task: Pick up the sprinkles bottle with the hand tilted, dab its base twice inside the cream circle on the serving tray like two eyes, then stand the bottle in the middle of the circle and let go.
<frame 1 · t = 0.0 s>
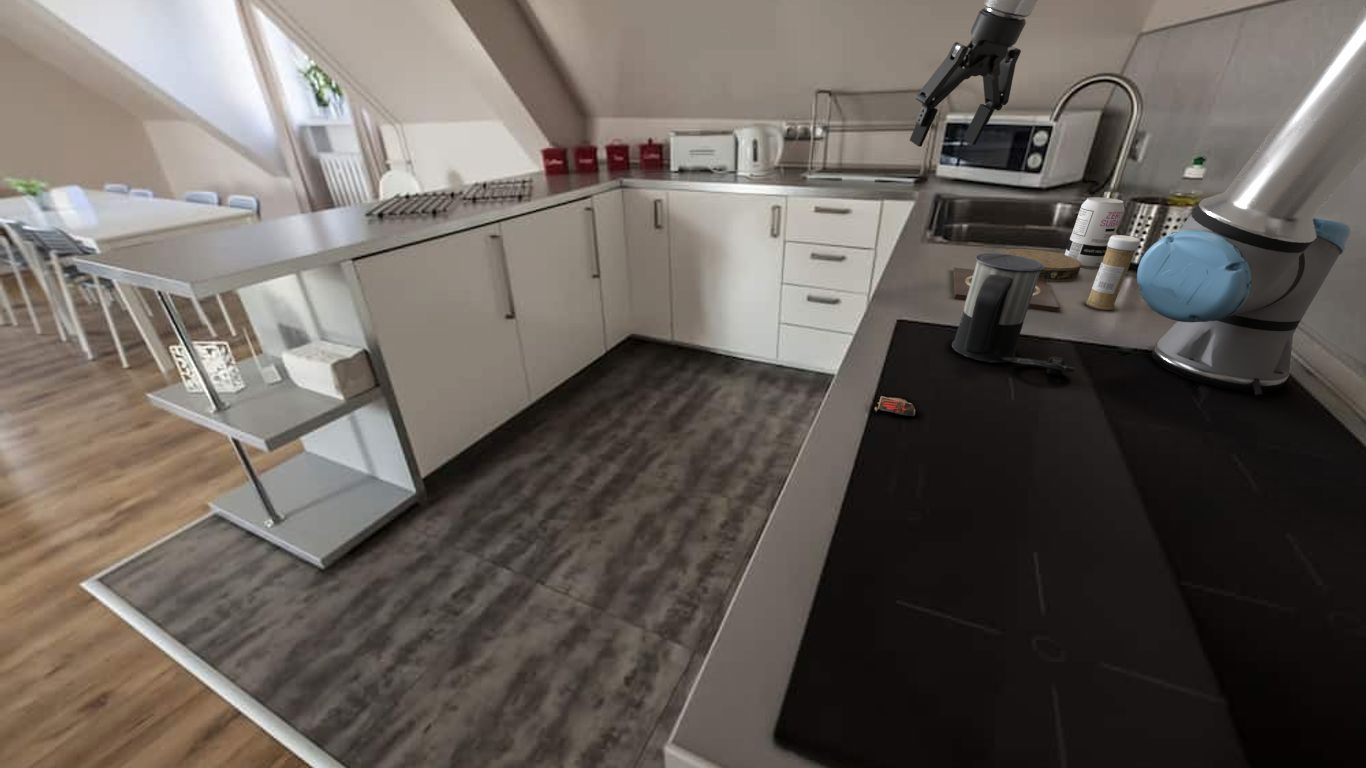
hand: (942, 142, 106), 28 cm above the worktop, tool tilted 20°, fingers open, 13 cm apart
serving tray: (1000, 290, 116), on the worktop
brown round flat disc: (1036, 271, 129), on the worktop
supplement can: (1081, 265, 134), on the worktop
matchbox: (895, 408, 73), on the worktop
milk frother: (1006, 362, 86), on the worktop
sprinkles bottle: (1098, 307, 108), on the worktop
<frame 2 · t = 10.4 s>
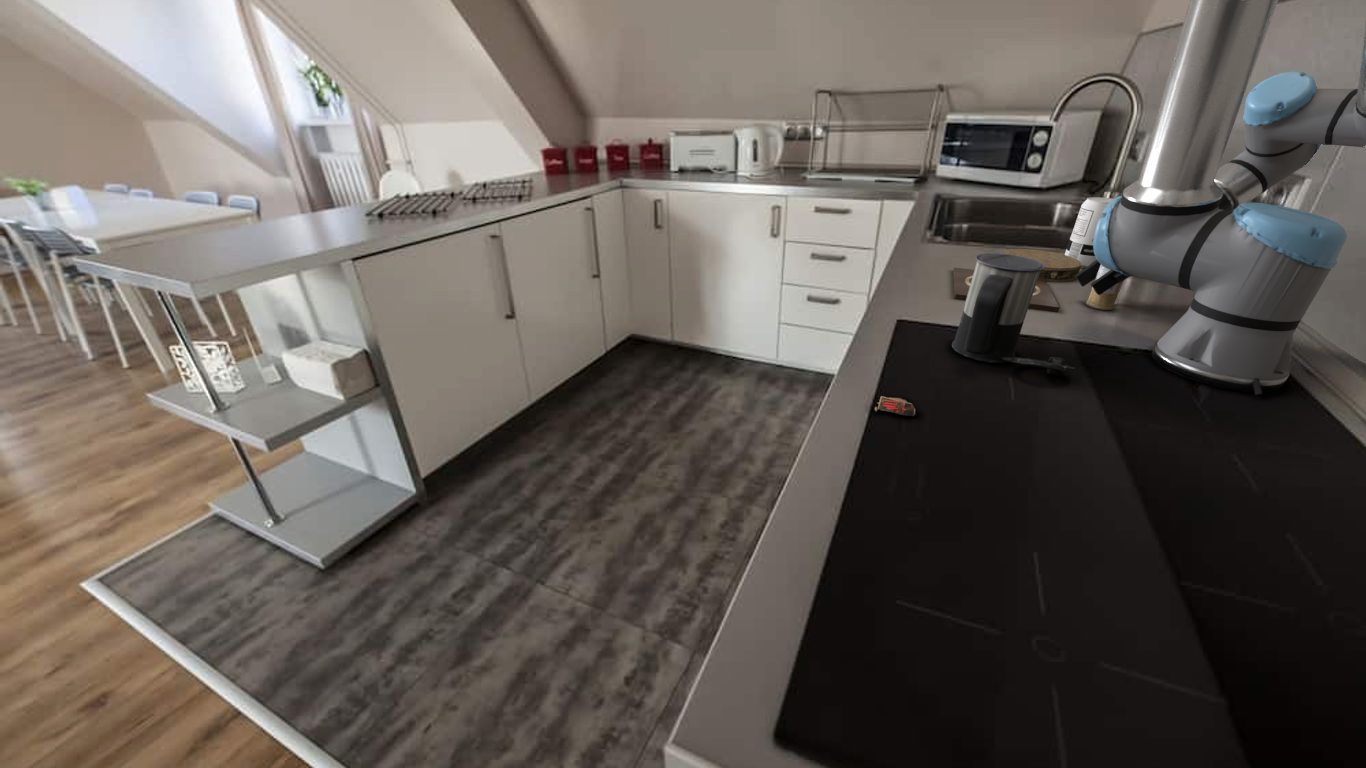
hand: (1086, 285, 106), 4 cm above the worktop, tool tilted 45°, fingers closed on sprinkles bottle, 4 cm apart
sprinkles bottle: (1098, 307, 108), on the worktop, touching gripper
everything else where it was.
when the fingers open (5 cm above the worktop, at t = 22.3 s): sprinkles bottle stays where it is, resting on serving tray.
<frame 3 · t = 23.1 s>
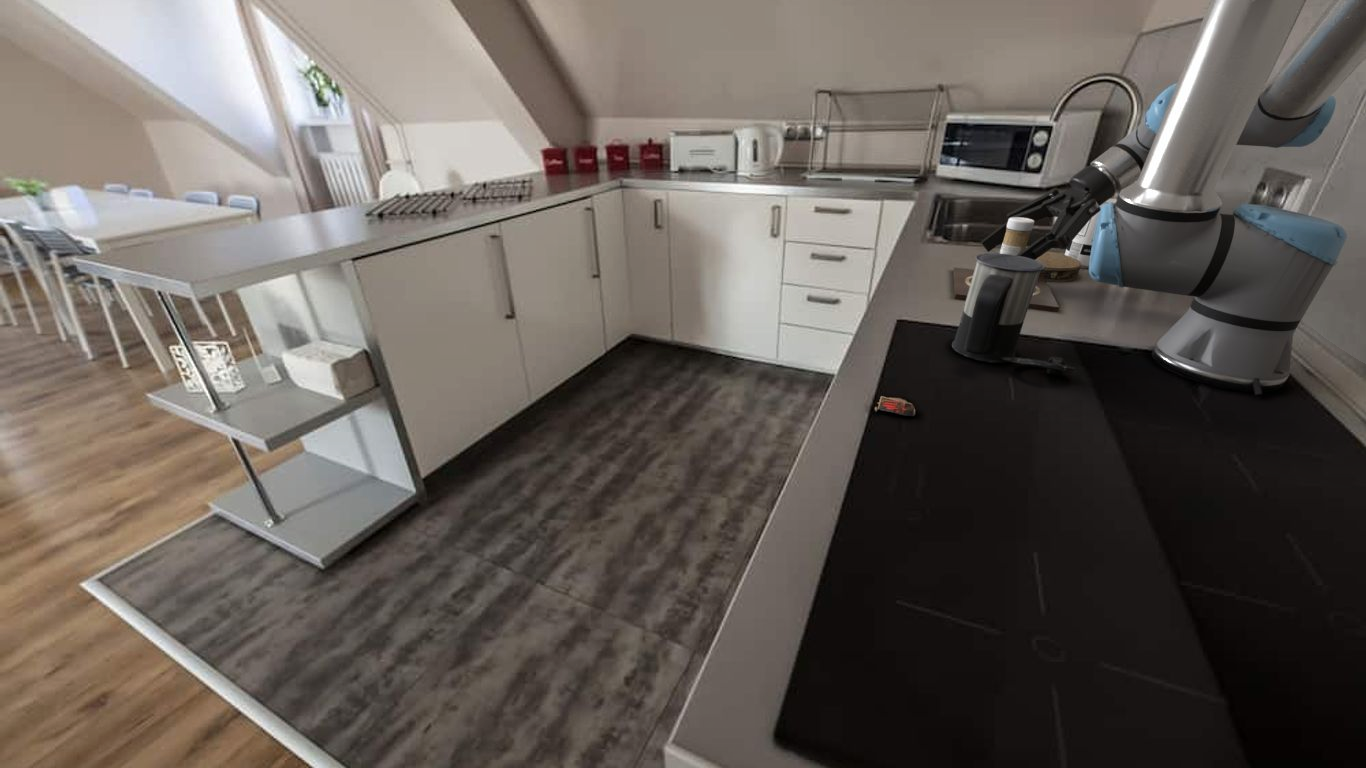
hand: (998, 255, 113), 7 cm above the worktop, tool tilted 45°, fingers open, 13 cm apart
sprinkles bottle: (1002, 285, 116), point 1 cm above the worktop, touching serving tray
everything else where it was.
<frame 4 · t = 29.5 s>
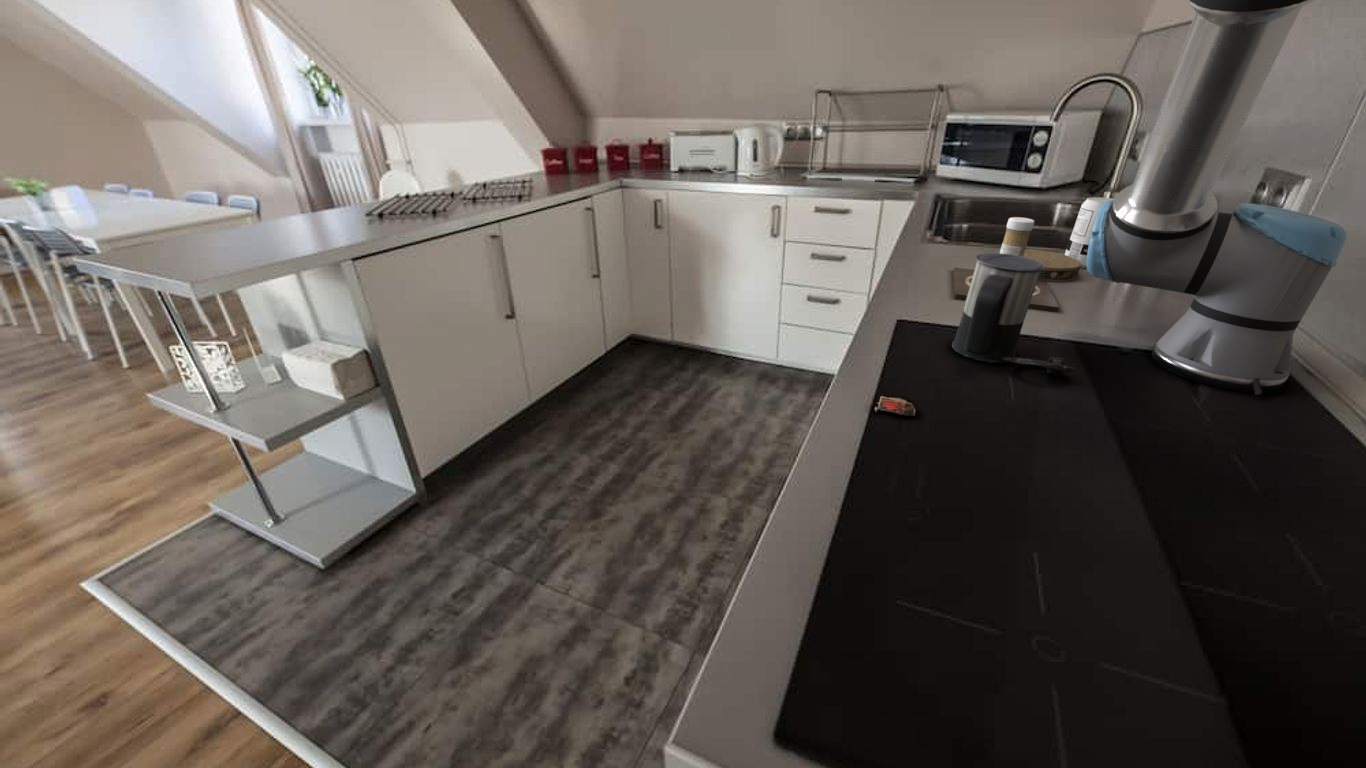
hand: (1194, 127, 96), 32 cm above the worktop, tool pointing down, fingers open, 13 cm apart
nothing on the worktop moved.
at the end: sprinkles bottle inside the target area on the serving tray (0.1 cm from its centre), point 0.9 cm above the serving tray's base; sprinkles bottle tilted 0°; the gripper is holding nothing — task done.
